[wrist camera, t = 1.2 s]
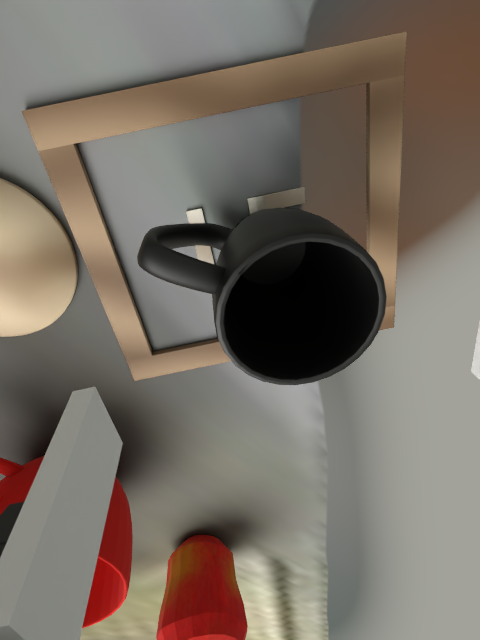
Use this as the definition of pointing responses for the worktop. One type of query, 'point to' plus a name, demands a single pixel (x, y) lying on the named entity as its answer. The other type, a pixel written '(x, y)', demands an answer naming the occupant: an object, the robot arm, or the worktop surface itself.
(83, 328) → the worktop surface
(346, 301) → the mug
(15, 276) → the coaster
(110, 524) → the ceramic cup
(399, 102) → the brown wooden frame
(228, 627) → the apple
